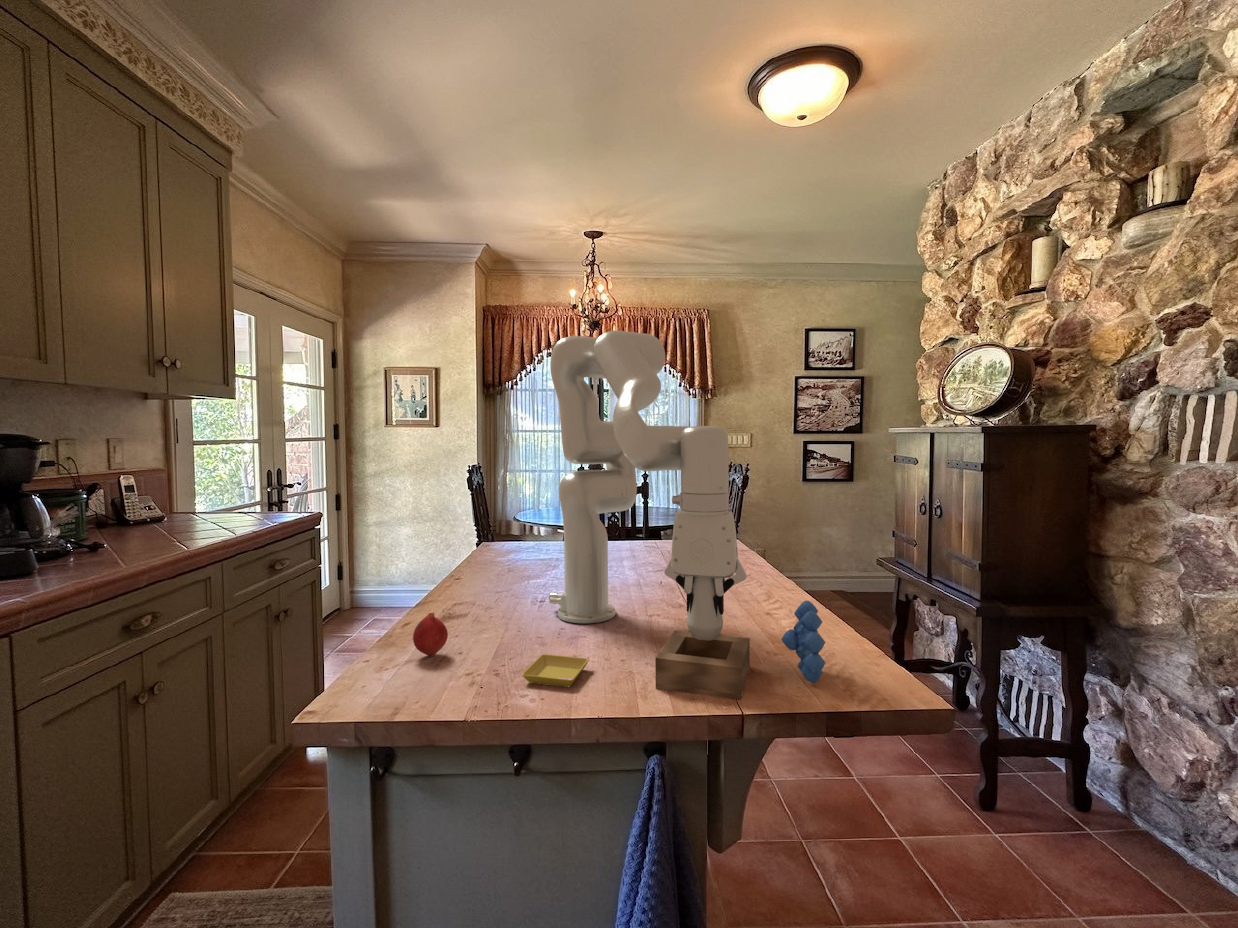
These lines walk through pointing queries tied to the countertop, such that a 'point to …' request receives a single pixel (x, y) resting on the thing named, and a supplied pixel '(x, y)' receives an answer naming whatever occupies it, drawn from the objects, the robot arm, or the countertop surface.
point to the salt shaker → (704, 610)
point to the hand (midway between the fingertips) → (705, 616)
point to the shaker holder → (703, 665)
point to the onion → (430, 635)
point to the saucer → (555, 670)
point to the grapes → (807, 641)
